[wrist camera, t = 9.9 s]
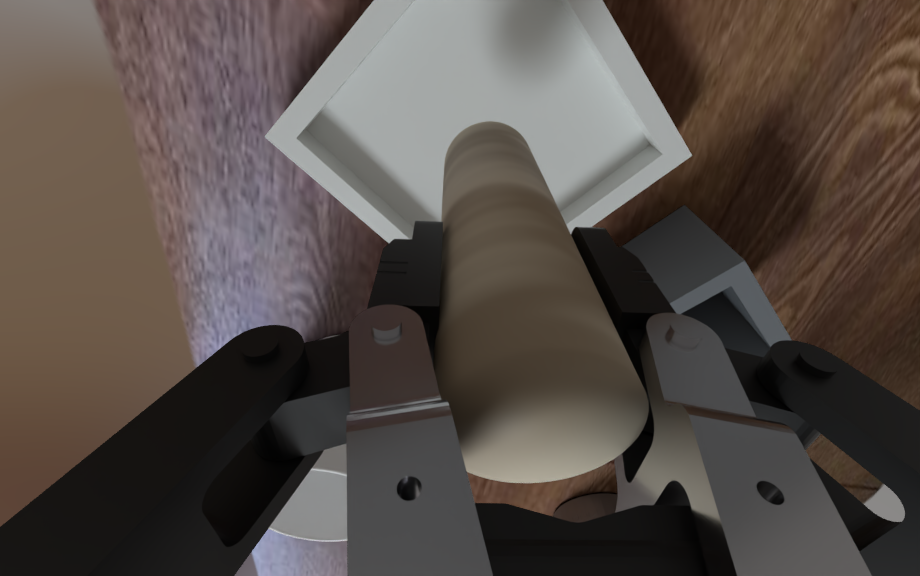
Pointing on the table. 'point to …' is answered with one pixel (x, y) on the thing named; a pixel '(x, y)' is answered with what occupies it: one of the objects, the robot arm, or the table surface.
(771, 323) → the grey hollow box
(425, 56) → the white tray
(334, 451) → the mug
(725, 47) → the table surface
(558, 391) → the birch pin
